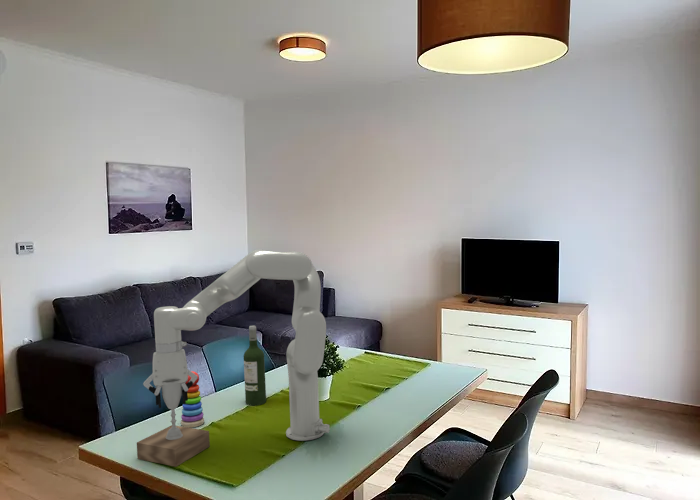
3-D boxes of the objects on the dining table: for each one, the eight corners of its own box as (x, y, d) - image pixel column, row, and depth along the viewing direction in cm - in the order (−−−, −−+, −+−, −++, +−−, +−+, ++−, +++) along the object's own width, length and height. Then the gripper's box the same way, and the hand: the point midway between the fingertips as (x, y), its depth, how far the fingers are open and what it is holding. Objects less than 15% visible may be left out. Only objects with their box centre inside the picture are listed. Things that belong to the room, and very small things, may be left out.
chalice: (178, 441, 164) (175, 382, 163) (157, 440, 165) (154, 382, 164) (190, 432, 171) (187, 375, 170) (170, 431, 173) (167, 375, 172)
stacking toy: (183, 430, 187) (180, 376, 186) (179, 422, 194) (176, 370, 193) (206, 425, 190) (204, 372, 189) (201, 418, 197) (199, 367, 196)
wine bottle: (241, 404, 211) (238, 327, 209) (252, 398, 218) (249, 323, 217) (259, 406, 208) (255, 328, 206) (270, 400, 215) (266, 324, 214)
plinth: (209, 446, 172) (208, 431, 172) (175, 466, 159) (175, 449, 158) (173, 440, 178) (172, 425, 178) (137, 458, 165) (136, 442, 165)
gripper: (197, 341, 173) (200, 397, 174) (138, 348, 167) (142, 405, 168) (199, 346, 166) (202, 404, 167) (138, 353, 160) (141, 413, 161)
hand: (172, 404), depth 168 cm, fingers open, 6 cm apart
